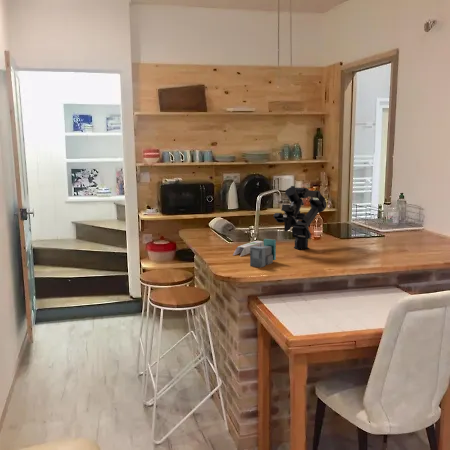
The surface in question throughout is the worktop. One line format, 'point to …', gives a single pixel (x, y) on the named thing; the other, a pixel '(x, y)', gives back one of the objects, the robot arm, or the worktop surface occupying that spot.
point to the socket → (257, 256)
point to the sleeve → (268, 255)
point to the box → (247, 247)
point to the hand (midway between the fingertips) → (285, 231)
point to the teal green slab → (272, 243)
